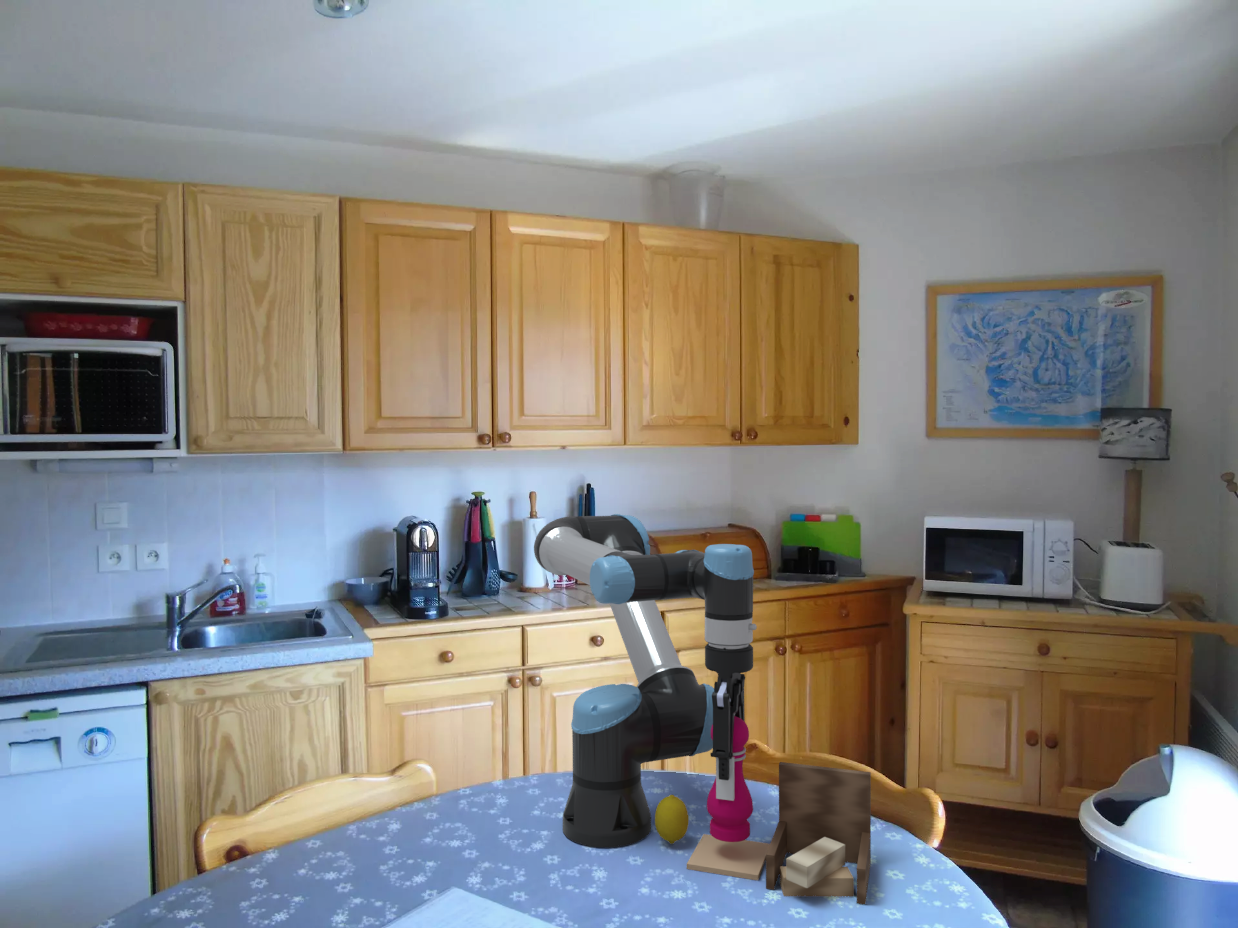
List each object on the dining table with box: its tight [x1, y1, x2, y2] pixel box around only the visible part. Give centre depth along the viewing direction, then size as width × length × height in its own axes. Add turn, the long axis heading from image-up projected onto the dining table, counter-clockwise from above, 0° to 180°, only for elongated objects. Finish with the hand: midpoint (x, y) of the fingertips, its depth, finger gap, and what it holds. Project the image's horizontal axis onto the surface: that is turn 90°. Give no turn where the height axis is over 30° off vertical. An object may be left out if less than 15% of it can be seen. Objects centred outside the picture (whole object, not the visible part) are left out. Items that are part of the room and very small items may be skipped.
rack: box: [765, 761, 872, 905], centre depth 128 cm, size 14×14×14 cm
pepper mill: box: [706, 714, 754, 842], centre depth 134 cm, size 7×7×20 cm
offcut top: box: [785, 837, 846, 888], centre depth 124 cm, size 10×4×3 cm, turn 134°
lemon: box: [654, 794, 690, 845], centre depth 139 cm, size 6×6×8 cm
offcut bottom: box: [779, 865, 855, 898], centre depth 124 cm, size 10×4×3 cm, turn 89°
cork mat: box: [686, 833, 770, 881], centre depth 134 cm, size 11×11×1 cm
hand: (729, 790), depth 133 cm, fingers closed on pepper mill, 5 cm apart
